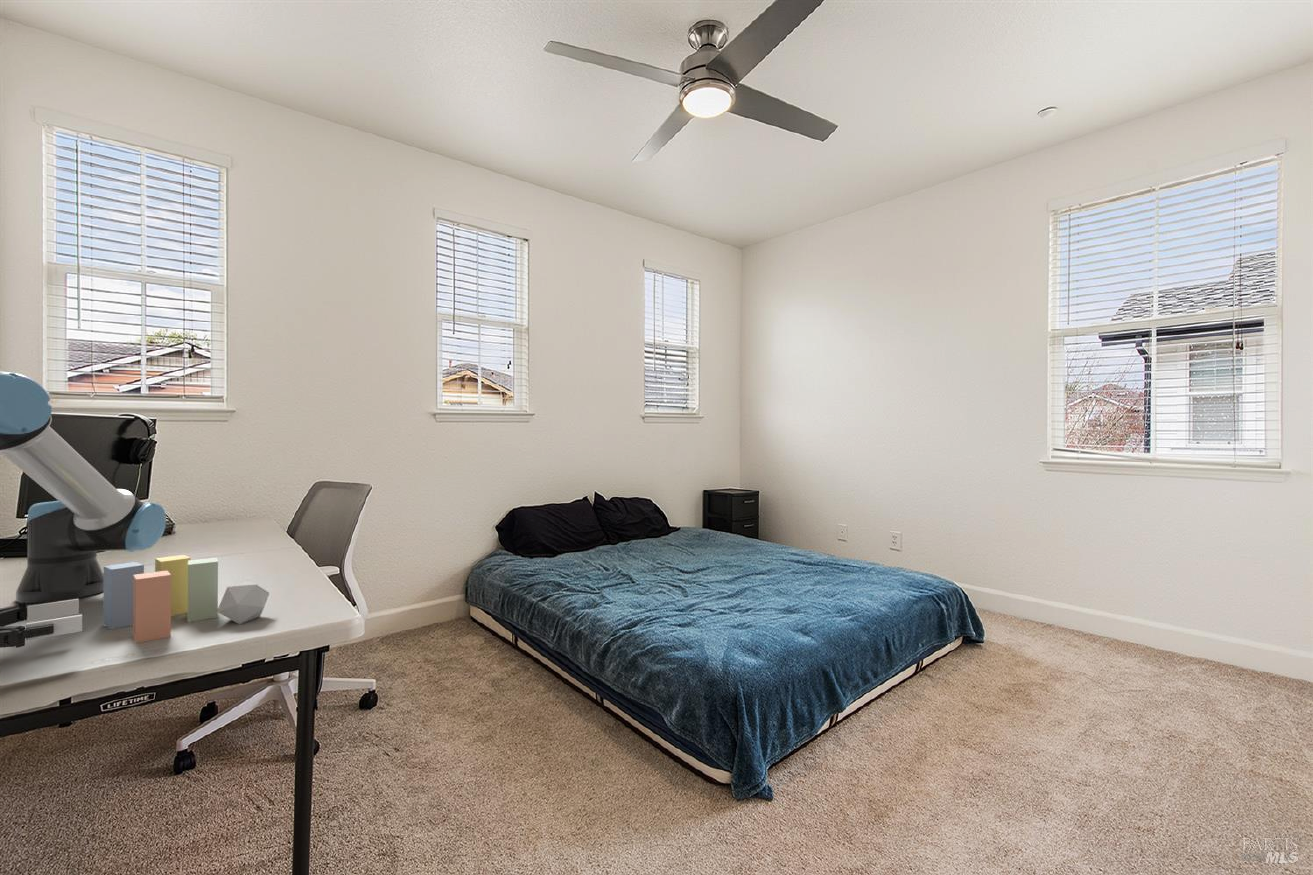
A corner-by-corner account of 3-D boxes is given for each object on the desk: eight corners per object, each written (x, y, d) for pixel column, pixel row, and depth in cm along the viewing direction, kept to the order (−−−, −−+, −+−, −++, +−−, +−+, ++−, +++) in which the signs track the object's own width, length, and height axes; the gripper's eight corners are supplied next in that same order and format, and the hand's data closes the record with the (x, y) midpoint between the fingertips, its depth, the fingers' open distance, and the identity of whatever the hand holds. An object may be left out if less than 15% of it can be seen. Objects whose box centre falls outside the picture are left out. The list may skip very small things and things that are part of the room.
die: (274, 622, 120) (280, 580, 126) (238, 613, 113) (246, 568, 119) (241, 634, 121) (249, 591, 127) (203, 625, 114) (213, 581, 120)
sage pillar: (187, 615, 122) (187, 560, 122) (216, 611, 125) (217, 557, 125) (187, 621, 118) (187, 564, 118) (217, 617, 122) (218, 561, 121)
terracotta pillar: (132, 636, 110) (133, 574, 110) (166, 630, 113) (167, 570, 113) (135, 643, 106) (136, 579, 106) (170, 636, 110) (171, 574, 110)
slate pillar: (103, 624, 116) (103, 566, 116) (135, 617, 121) (135, 561, 121) (111, 629, 114) (111, 569, 114) (143, 622, 118) (143, 564, 118)
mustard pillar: (154, 613, 124) (155, 558, 124) (183, 607, 128) (184, 554, 128) (160, 617, 121) (160, 561, 121) (190, 612, 125) (190, 557, 125)
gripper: (-103, 648, 95) (77, 619, 111) (-134, 695, 79) (83, 652, 94) (-103, 603, 95) (77, 580, 111) (-134, 641, 79) (83, 607, 94)
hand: (80, 613), depth 103 cm, fingers open, 13 cm apart
